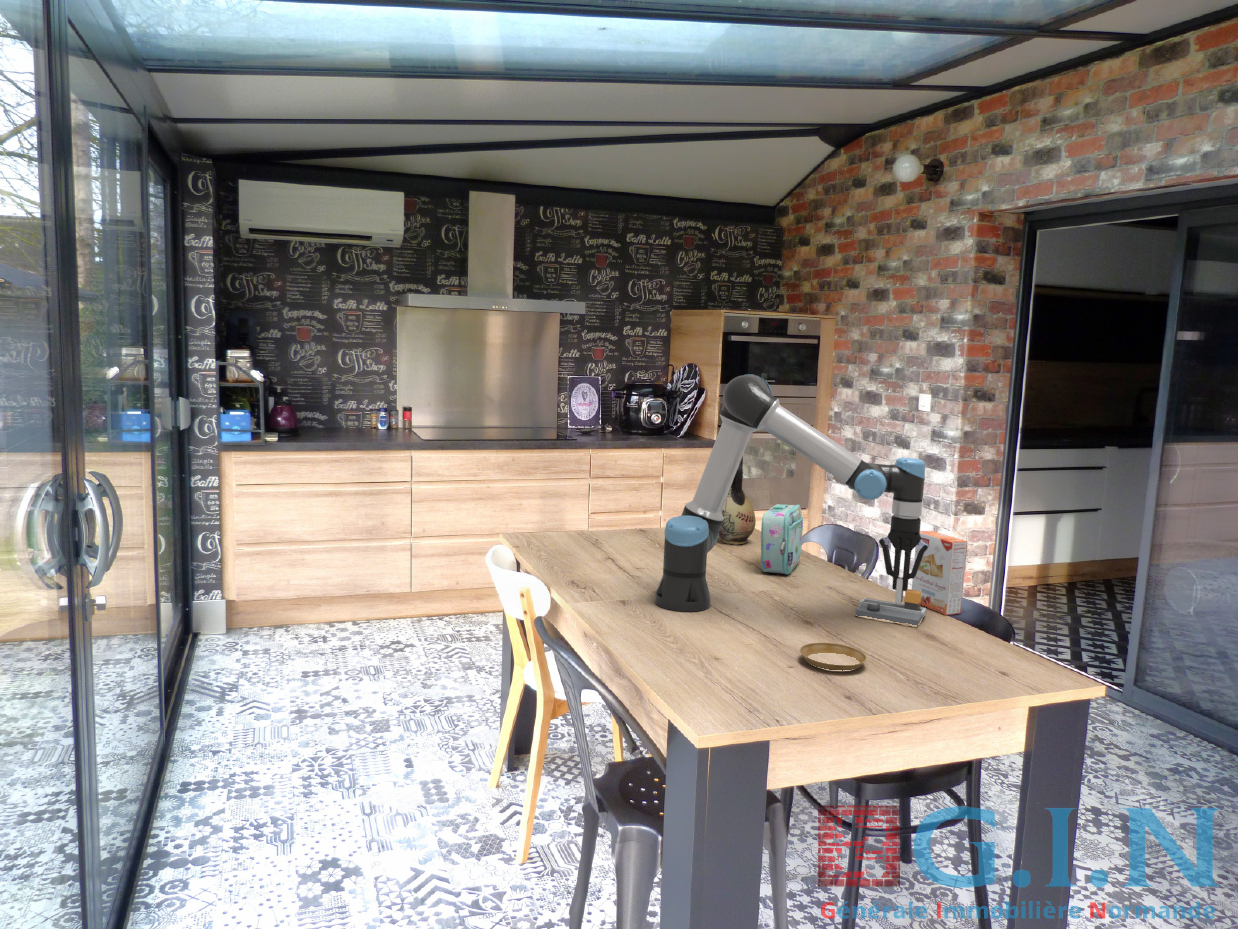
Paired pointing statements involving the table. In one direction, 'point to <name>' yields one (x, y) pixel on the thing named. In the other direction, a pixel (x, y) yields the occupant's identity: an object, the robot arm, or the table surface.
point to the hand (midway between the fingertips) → (898, 601)
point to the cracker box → (941, 572)
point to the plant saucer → (832, 648)
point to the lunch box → (781, 538)
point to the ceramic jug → (737, 514)
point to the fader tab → (912, 599)
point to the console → (889, 611)
